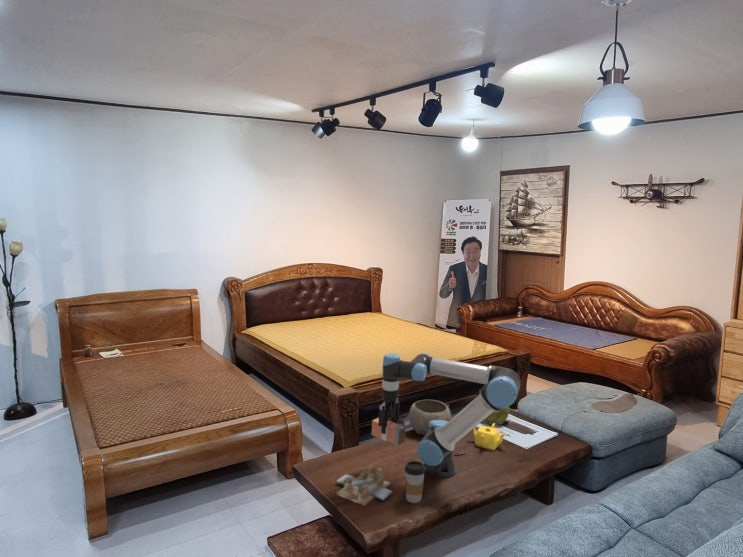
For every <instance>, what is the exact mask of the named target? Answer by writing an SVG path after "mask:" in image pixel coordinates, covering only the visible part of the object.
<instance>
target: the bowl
mask: <svg viewBox="0 0 743 557" xmlns="http://www.w3.org/2000/svg"><path fill="white" fill-rule="evenodd" d="M407 417H408V419H407V420H408V422H409V425H410V426H411V427H412V429H413V430H414V431H415V432H417V433H418V434H420V435H422V436H425V435H426V434H427V433H428V431H429V422H430V421H432V420H444V421H448V422H449V421H450V420H451V419H452V413H451V410H450V407H449V406H448V405H447V404H446V403H444V402H442V401H440V400H436V399H421V400H417V401H415V402H413V403H412V405H411V406H410V408H409V412H408V416H407Z"/></svg>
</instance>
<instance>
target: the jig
mask: <svg viewBox="0 0 743 557" xmlns="http://www.w3.org/2000/svg"><path fill="white" fill-rule="evenodd" d="M384 476H385V473H384V472H383V468H380V467H378V466H375V465H373V464H370V465H369V466H366V465H365V466H364V465H362V467H360V468H359V475H358V476H357V477H355V476H353V475H350V474H347V473H345V474H344V475H342V476H341V477H340V478H338V479H337V480H336V483H337V484H340V485H342V486H343V487H342V488H341V489H340V490H338V491H336V496H339V497H341V498H344V499H347V500H349V501H351V502H354V503H356V504H360V506H361V505H362V506H367V504H369V503H370V502H371V501H372V500H373V499H375V498H376V499H379V500H382V501H384V500H385V499H387V498H388V497H389V496H390V495H391V494H392V493H393V490H390V489H388V488H387V487H389V486H390V485H391V482H390V481H386V480H385V478H384Z"/></svg>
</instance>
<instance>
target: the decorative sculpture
mask: <svg viewBox="0 0 743 557" xmlns="http://www.w3.org/2000/svg"><path fill="white" fill-rule="evenodd" d="M509 413H510V406H508V407H505V408H503V409H502V410H501V411H500V412H492V413H491V414H490V415H489V416H488V417H486V418H485V419H484V420H483V421H484V422H485V423H487V422H488V423H487V424H489V423H491V424H490V425H492V424H493V423H495V424H499V425H503V424H504V423H505V422H506V421H507V419H508V417H509V415H510V414H509Z"/></svg>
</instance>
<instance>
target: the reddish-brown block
mask: <svg viewBox="0 0 743 557" xmlns="http://www.w3.org/2000/svg"><path fill="white" fill-rule="evenodd" d="M390 421H391V420H390ZM390 421H389V420H388V422H387V427H388V436H387V441H386V442H388V443H390V444H393V445H395V446H400V445H402V444H403V443H405V440H406V426H405V425H401V424H398V423H393V422H392V421H391V422H390ZM378 423H379V417H377V418H374V419H373V420H371V436H373V437H375V438H378V439H380V440H382V433H381V431H382V427H381V426H379V425H378Z"/></svg>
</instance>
